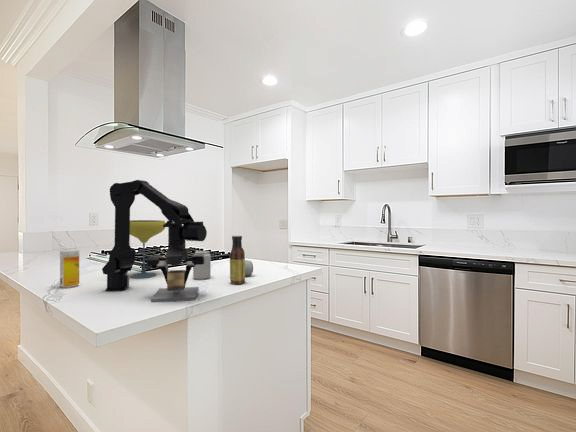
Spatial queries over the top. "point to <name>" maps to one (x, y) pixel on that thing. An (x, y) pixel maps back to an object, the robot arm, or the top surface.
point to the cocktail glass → (145, 238)
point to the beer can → (69, 267)
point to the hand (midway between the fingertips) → (176, 284)
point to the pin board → (175, 294)
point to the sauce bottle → (237, 261)
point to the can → (202, 266)
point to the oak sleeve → (175, 280)
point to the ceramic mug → (248, 267)
